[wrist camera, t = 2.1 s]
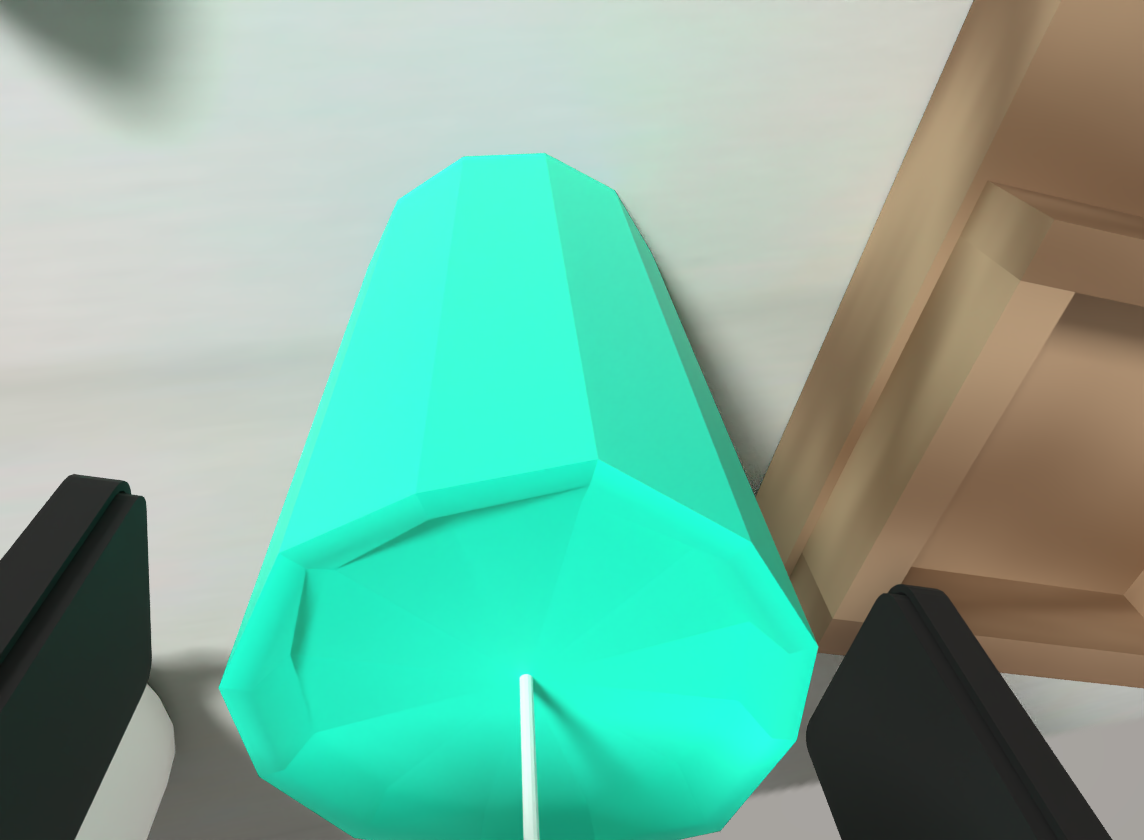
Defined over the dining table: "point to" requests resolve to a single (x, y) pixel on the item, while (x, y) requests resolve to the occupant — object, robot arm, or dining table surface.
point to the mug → (134, 777)
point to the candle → (518, 545)
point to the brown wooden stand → (992, 361)
